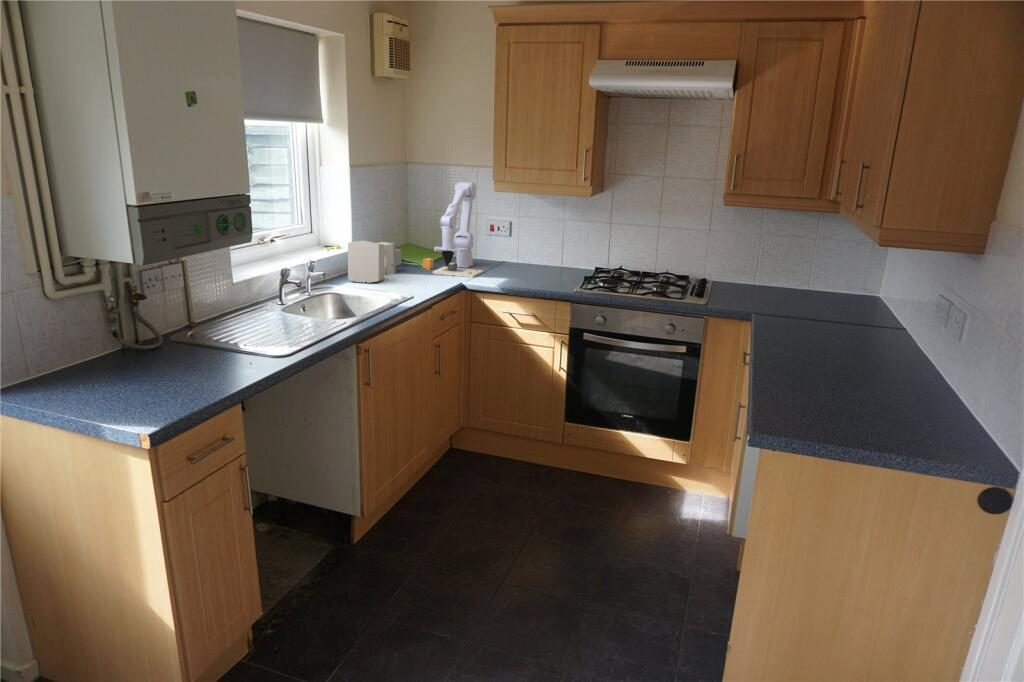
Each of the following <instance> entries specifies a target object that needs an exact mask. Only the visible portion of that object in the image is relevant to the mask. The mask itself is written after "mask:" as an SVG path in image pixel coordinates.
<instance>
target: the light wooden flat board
mask: <svg viewBox="0 0 1024 682" xmlns="http://www.w3.org/2000/svg"><path fill="white" fill-rule="evenodd" d="M482 272H483V273H484V270H483V269H477V268H473V269H472V268H465V267H457V269H456V270H448V266H446V265H445V266H442V267H439V268H437V269H435V270H432V274H433V273H434V274H433V275H442V274H443V276H452V275H455V276H454V277H461V276H464V277H463V278H471V277H473V278H475V277H477V276H479V275H481V274H483V273H482ZM480 273H481V274H480ZM478 274H479V275H478ZM476 275H477V276H476ZM474 276H475V277H474Z"/></svg>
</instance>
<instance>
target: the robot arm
mask: <svg viewBox="0 0 1024 682" xmlns="http://www.w3.org/2000/svg"><path fill="white" fill-rule="evenodd" d="M454 191H455V194H454V197H453V200H452V201H451V203H449V204H448V206H447V209H446V211H445V213H444V214H443V215H442V216H441V217H440V220H439V224H440V229H441V238H442V240H441V242H442V244H441V246H434V247H433V249H434V250H433V251H434V252H441V255H442V258H443V260H444V262H445V267H448V264H449V263H452V262H451V261H452V259H453V256H454V255H455V253H456V263H457V268H465V269H469V268H470V267H472V266H474V265H475V264H474V263H473V252H472V249H473V247H474V243H475V241H474V235H473V234H472V233H471V232H470V227H471V218H472V208H473V201H474V200H475V199H476V195H477V186H476V183H475V182H474V181H473V182H471V181H460V180H458V181H456V182H455V186H454ZM461 203H462V207H461V215H460V216H461V217H460V225H459V230H458V231H456V233H454V231H455V230H454V229H455V226H456V225H457V224H456V222H457V216H458V214H459V211H460V205H461Z"/></svg>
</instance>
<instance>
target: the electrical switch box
mask: <svg viewBox="0 0 1024 682" xmlns="http://www.w3.org/2000/svg"><path fill="white" fill-rule="evenodd" d="M384 252H385V251H384V244H382V243H380V242H372V241H369V240H363V239H362V240H357V241H349V242H348V243H347V279H348V281H351V282H355V283H359V282H363V283H364V282H367V283H366V284H368V283H376V282H382V281H383V280H384V278H385V275H384Z"/></svg>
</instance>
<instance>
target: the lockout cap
mask: <svg viewBox="0 0 1024 682" xmlns="http://www.w3.org/2000/svg"><path fill="white" fill-rule="evenodd" d="M423 268H426V269H425V270H431V268H432V269H434V258H429V257H426V258H423V259H422V269H423Z"/></svg>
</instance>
